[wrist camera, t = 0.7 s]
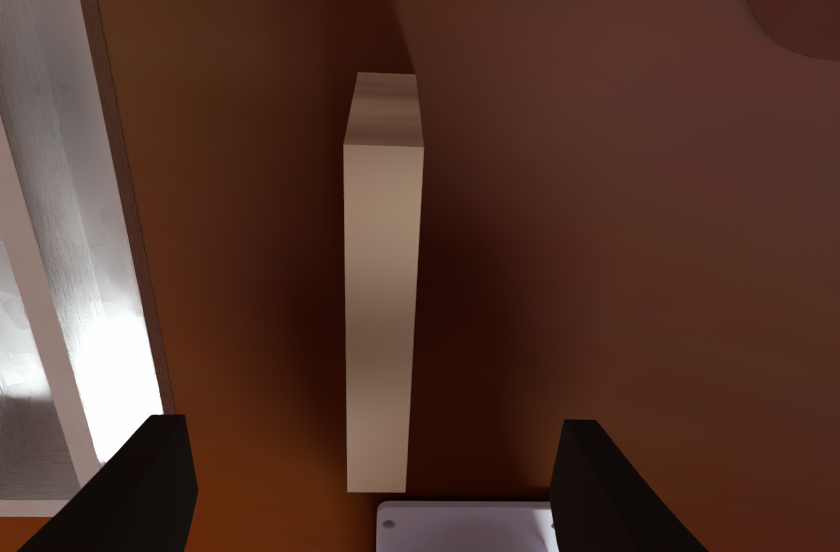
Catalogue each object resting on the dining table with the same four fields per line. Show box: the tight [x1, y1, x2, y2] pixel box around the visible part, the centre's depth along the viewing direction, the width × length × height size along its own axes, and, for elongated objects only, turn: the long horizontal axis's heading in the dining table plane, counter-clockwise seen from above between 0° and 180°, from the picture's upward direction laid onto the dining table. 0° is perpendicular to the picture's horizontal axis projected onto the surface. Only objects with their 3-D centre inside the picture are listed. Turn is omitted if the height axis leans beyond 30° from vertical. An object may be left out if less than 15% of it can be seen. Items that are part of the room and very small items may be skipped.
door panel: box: [344, 72, 424, 492], centre depth 18 cm, size 10×2×6 cm, turn 177°
